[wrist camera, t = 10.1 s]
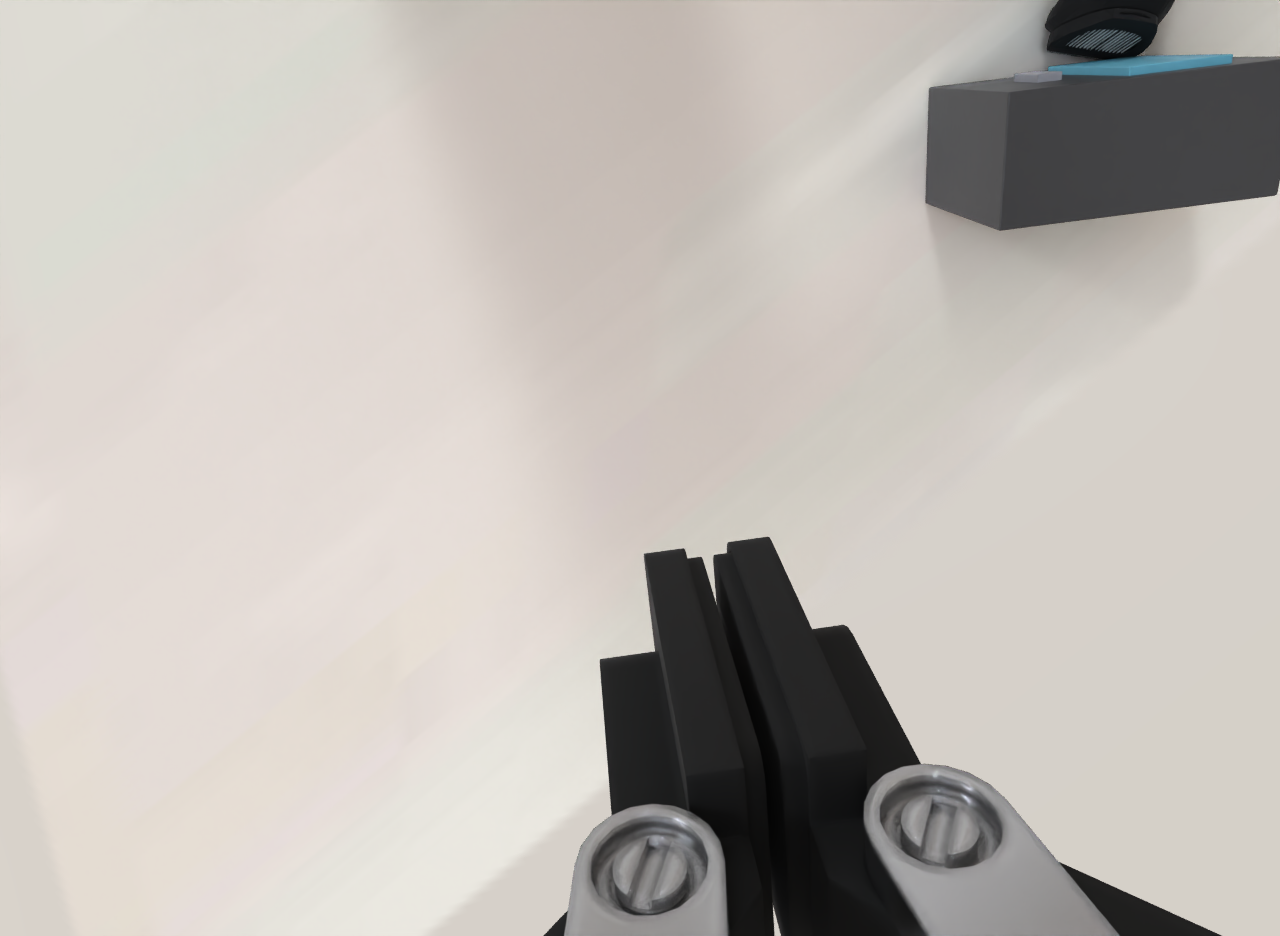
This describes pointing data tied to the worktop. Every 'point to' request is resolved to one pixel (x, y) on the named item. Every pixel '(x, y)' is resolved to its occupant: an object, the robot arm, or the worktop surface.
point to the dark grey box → (1105, 139)
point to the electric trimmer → (1104, 27)
